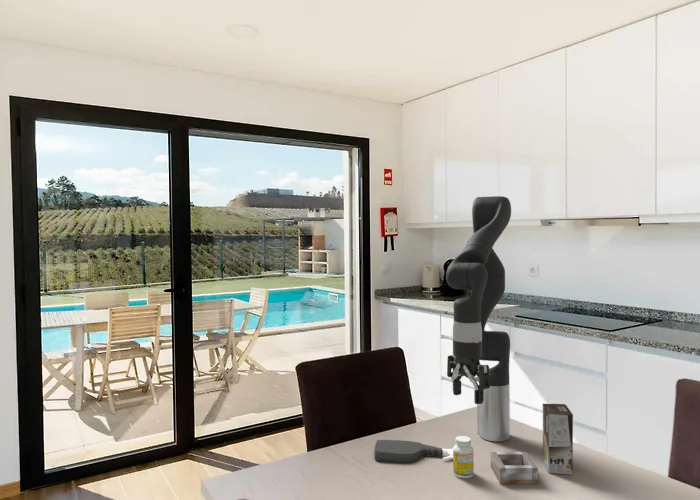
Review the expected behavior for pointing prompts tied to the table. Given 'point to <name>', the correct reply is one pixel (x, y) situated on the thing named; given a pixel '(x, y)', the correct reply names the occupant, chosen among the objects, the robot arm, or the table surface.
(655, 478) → the table surface
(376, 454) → the spray bottle
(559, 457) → the coffee box
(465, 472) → the supplement bottle
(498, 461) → the post socket
